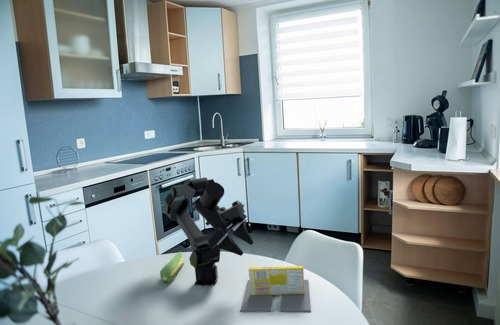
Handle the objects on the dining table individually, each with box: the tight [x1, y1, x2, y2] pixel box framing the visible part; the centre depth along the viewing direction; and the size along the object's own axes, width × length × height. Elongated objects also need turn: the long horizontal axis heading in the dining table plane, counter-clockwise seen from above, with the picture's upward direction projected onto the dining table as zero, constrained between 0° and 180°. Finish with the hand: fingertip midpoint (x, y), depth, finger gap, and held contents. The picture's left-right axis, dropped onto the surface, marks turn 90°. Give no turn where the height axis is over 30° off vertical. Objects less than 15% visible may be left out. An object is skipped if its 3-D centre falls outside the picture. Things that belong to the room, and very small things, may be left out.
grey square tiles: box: [239, 279, 312, 313], centre depth 110 cm, size 20×18×1 cm
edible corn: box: [159, 251, 185, 283], centre depth 131 cm, size 5×20×5 cm
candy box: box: [248, 265, 305, 296], centre depth 110 cm, size 16×2×8 cm, turn 84°
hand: (247, 249), depth 112 cm, fingers open, 8 cm apart
